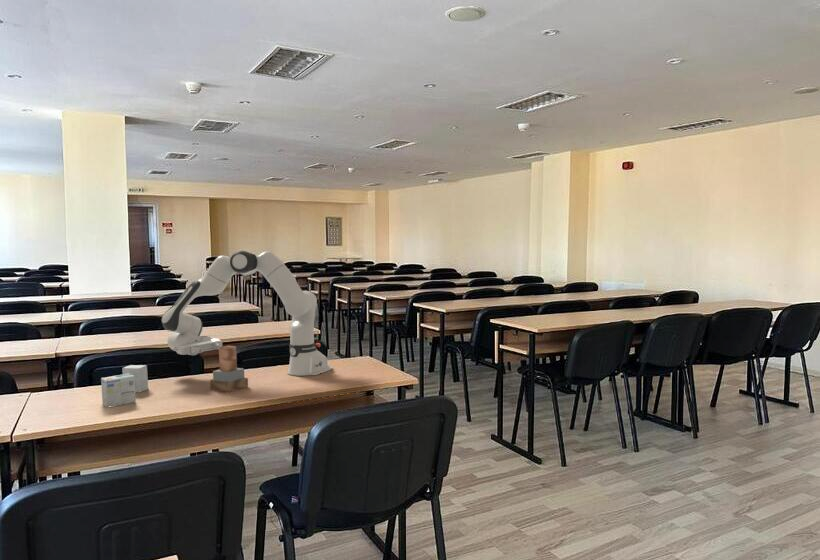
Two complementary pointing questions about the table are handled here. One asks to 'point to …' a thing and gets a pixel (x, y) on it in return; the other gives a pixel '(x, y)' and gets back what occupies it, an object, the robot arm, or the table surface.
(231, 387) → the walnut base block
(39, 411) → the table surface
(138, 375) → the small box
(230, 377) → the grey top block
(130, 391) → the light bulb box
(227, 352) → the terracotta block
